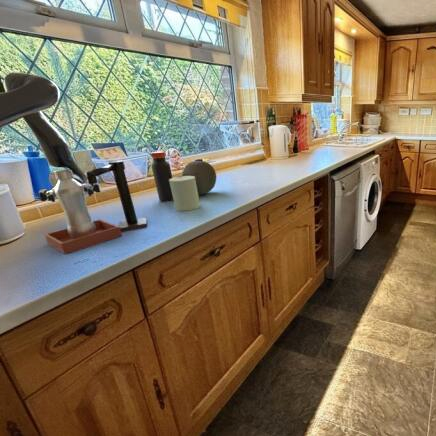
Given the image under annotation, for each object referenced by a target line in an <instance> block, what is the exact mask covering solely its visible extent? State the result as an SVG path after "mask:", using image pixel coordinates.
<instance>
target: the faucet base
mask: <svg viewBox="0 0 436 436" xmlns="http://www.w3.org/2000/svg"><path fill="white" fill-rule="evenodd" d="M112 174H113V179H114V181H115V186H116V189H117V192H118V197H119V199H120V202H121V203H120V204H121V207H122V211H123V215H124V218H125V220H124V221H119V222H118V225H117V226H119V227H120V231H121V232H125V231H131V230H137V229H143V228H148V219H147V217H141V218H138V217H137V213H136V210H135V205H134V202H133V199H132V195H131V191H130V187H129V183H128V180H127V176H126V172H125V170H120V171H112Z"/></svg>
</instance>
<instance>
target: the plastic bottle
mask: <svg viewBox="0 0 436 436" xmlns="http://www.w3.org/2000/svg"><path fill="white" fill-rule="evenodd" d="M62 170H63V171H61V170H60V171H59V170H55V171H56V172H54V171H53V172H54V173H55V176H56V179H58V182H57V184H56V186H55V189H54V193H55V195H56V197H57V199H56V200H57V201H58V202H59V204H60V207H61V209H62V211H63V213H64V217H65V221H66V225H67V226H66V228H67V230H68V234H69V235H70V237H71V238H72V239H77V238H80V237H84V236H87V235H91V234H94V233H96V226H95V224H94V222H93V221H94V220H93V219H92V217H91V214H90V212H89V209H88V205H87V200H86V195H85V192H84V188H83V186H82V185H81V184H80V183H79V182H77V181H76V180H74V179H73V177H74V175H73V174H72V171H71V170H65V169H62Z"/></svg>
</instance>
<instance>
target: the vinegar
mask: <svg viewBox="0 0 436 436" xmlns="http://www.w3.org/2000/svg"><path fill="white" fill-rule="evenodd" d="M150 155H151V158H152V160H153V162H152V163H151V171H152V175H153V179H154V182H155V183H154V184H155V187H156V193H157V196H158V200H159V201H160V202H171V201H174V200H173V195H172V191H171V186H170V182H169V179H171V178H173V173H172V168H171V164H170V162H168V161H167V160H166V152H165V151H153V152H150Z"/></svg>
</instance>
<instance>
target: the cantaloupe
mask: <svg viewBox="0 0 436 436" xmlns="http://www.w3.org/2000/svg"><path fill="white" fill-rule="evenodd" d="M181 176H194V177H195V181H196V186H197V192H198V196H199V195H206V194H207V193H208V194H209V192H211V191H212V190H213V189H214V188H215V186H216V184H217V183H216V182H217V172H216V170H215V168H214V166H212V164H210V163H209V162H207V161H203V160H194V161H191V162H188V163H187V164H186V165H185V166H184V168H183V170H182V174H181Z"/></svg>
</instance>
